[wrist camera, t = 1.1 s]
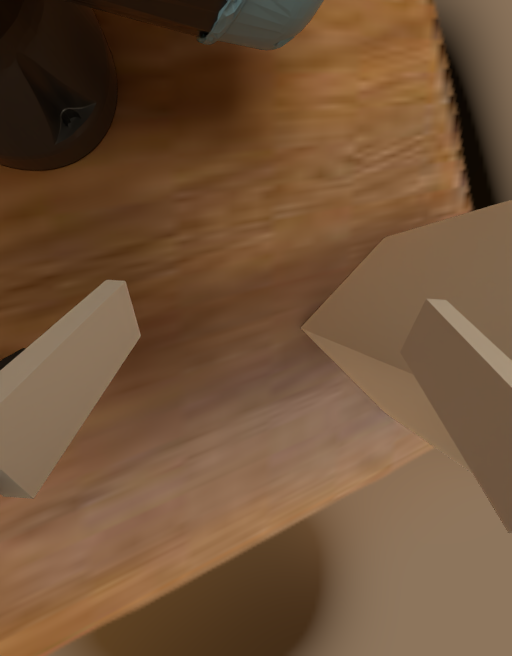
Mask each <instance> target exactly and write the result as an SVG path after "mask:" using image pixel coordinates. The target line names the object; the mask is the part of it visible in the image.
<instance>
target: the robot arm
mask: <svg viewBox="0 0 512 656" xmlns="http://www.w3.org/2000/svg"><path fill="white" fill-rule="evenodd" d="M323 1H324V0H0V164H1V165H4V166H8V167H12V168H17V169H25V170H47V169H54V168H58V167H62V166H65V165H68V164H71V163H73V162H75V161H77V160H79V159H80V158H82V157H84V156H85V155H87V154H88V153H89V152H90V151H92V150H93V149H94V148H95V147H96V146H97V145H98V143H99V142H100V141H101V140H102V138H103V137H104V135H105V134H106V132H107V130H108V129H109V126H110V124H111V122H112V119H113V116H114V112H115V108H116V102H117V78H116V71H115V66H114V62H113V58H112V55H111V52H110V49H109V47H108V44H107V42H106V40H105V37H104V35H103V32H102V30H101V27H100V25H99V22H98V20H97V18H96V16H95V14H94V12H93V10H92V8H94V9H98V10H102V11H105V12H109V13H113V14H116V15H120V16H124V17H128V18H131V19H135V20H139V21H143V22H146V23H150V24H154V25H157V26H161V27H165V28H169V29H172V30H176V31H180V32H184V33H187V34H191V35H195V36H196V37H197V41H198V42H200V43H203V44H209V45H211V44H213V43H215V42H216V41H222V42H227V43H232V44H236V45H241V46H246V47H251V48H256V49H261V50H273V49H277V48H280V47H282V46H283V45H285V44H286V43H287V42H289V41H290V40H291V39H293V38H294V37H295V36H296V35H297V34H298V33H299V32H301V31H302V30H303V29H304V27H305V26H306V25H307V24H308V23H309V22H310V20H311V19H312V17H313V16H314V15H315V13H316V11H317V10H318V8H319V7H320V5H321V4H322V2H323ZM140 337H141V334H140V331H139V327H138V324H137V320H136V317H135V313H134V309H133V306H132V302H131V299H130V295H129V292H128V288H127V284H126V281H119V280H105V281H104V282H103V283H102V284H101V285H100V286H98V287H97V288H96V289H95V290H94V291H93V292H91V293H90V294H89V295H88V296H87V297H86V298H84V299H83V300H82V301H81V302H80V303H79V304H77V305H76V306H75V307H74V308H73V309H72V310H70V311H69V312H68V313H67V314H66V315H65V316H63V317H62V318H61V319H60V320H59V321H58V322H56V323H55V324H54V325H53V326H52V327H51V328H49V329H48V330H47V331H46V332H45V333H44V334H42V335H41V336H40V337H39V338H38V339H37V340H35V341H34V342H33V343H32V344H31V345H30V346H28V347H27V348H26V349H25V348H23V349H21V350H19V351H17V352H15V353H13V354H12V355H10V356H8V357H6V358H4V359H2V360H1V361H0V494H1V495H2V496H5V497H19V498H32V499H34V497H35V496H36V494H37V493H38V491H39V490H40V488H41V487H42V485H43V484H44V482H45V481H46V479H47V478H48V476H49V475H50V473H51V472H52V470H53V468H54V467H55V465H56V464H57V462H58V461H59V459H60V458H61V456H62V455H63V453H64V452H65V450H66V449H67V447H68V446H69V444H70V443H71V441H72V440H73V438H74V437H75V435H76V434H77V432H78V431H79V429H80V428H81V426H82V425H83V423H84V422H85V420H86V418H87V417H88V415H89V414H90V412H91V411H92V409H93V408H94V406H95V405H96V403H97V402H98V400H99V399H100V397H101V396H102V394H103V393H104V391H105V390H106V388H107V387H108V385H109V384H110V382H111V381H112V379H113V378H114V376H115V375H116V373H117V372H118V370H119V368H120V367H121V365H122V364H123V362H124V361H125V359H126V358H127V356H128V355H129V353H130V352H131V350H132V349H133V347H134V346H135V344H136V343H137V341H138V340H139V338H140ZM400 353H401V355H402V356H403V358H404V360H405V361H406V363H407V365H408V366H409V368H410V370H411V371H412V373H413V375H414V376H415V378H416V380H417V381H418V383H419V385H420V386H421V388H422V390H423V391H424V393H425V395H426V396H427V398H428V400H429V401H430V403H431V405H432V406H433V408H434V410H435V411H436V413H437V415H438V416H439V418H440V420H441V421H442V423H443V425H444V426H445V428H446V430H447V431H448V433H449V435H450V436H451V438H452V440H453V441H454V443H455V445H456V446H457V448H458V450H459V451H460V453H461V455H462V456H463V458H464V460H465V461H466V463H467V465H468V466H469V468H470V470H471V471H472V473H473V475H474V476H475V478H476V480H477V481H478V483H479V485H480V486H481V488H482V489H483V491H484V493H485V495H486V496H487V498H488V499H489V501H490V503H491V505H492V506H493V508H494V510H495V511H496V513H497V515H498V516H499V518H500V520H501V521H502V523H503V525H504V526H505V528H506V530H507V531H508V533H512V361H511V360H510V359H509V358H508V357H507V356H506V355H505V354H504V353H503V352H502V351H501V350H500V349H498V348H497V347H496V346H495V345H494V344H493V343H492V342H491V341H490V340H489V339H488V338H487V337H486V336H484V335H483V334H482V333H481V332H480V331H479V330H478V329H477V328H476V327H475V326H474V325H473V324H472V323H470V322H469V321H468V320H467V319H466V318H465V317H464V316H463V315H462V314H461V313H460V312H459V311H457V310H456V309H455V308H454V307H453V306H452V305H451V304H450V303H449V302H448V301H447V300H439V299H426V300H425V302H424V304H423V306H422V308H421V310H420V312H419V314H418V316H417V318H416V320H415V322H414V325H413V327H412V329H411V331H410V333H409V335H408V337H407V339H406V341H405V343H404V345H403V347H402V349H401V351H400Z"/></svg>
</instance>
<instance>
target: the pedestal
mask: <svg viewBox="0 0 512 656" xmlns="http://www.w3.org/2000/svg"><path fill="white" fill-rule="evenodd" d="M426 299H439V300H447V301H448V302H449V303H450V304H451V305H452V306H453V307H454V308H455V309H456V310H457V311H459V312H460V313H461V314H462V315H463V316H464V317H465V318H466V319H467V320H468V321H469V322H470V323H472V324H473V325H474V326H475V327H476V328H477V329H478V330H479V331H480V332H481V333H482V334H483V335H484V336H486V337H487V338H488V339H489V340H490V341H491V342H492V343H493V344H494V345H495V346H496V347H497V348H498V349H500V350H501V351H502V352H503V353H504V354H505V355H506V356H507V357H508V358H509V359H510V360H511V361H512V200H510V201H506V202H503V203H500V204H496V205H493V206H489V207H486V208H483V209H479V210H476V211H472V212H469V213H465V214H462V215H458V216H455V217H452V218H448V219H445V220H441V221H438V222H435V223H431V224H428V225H424V226H421V227H418V228H414V229H411V230H407V231H404V232H401V233H397V234H394V235H390V236H387V237H384V238H383V239H382V241H381V242H380V243H379V244H378V245H377V246H376V247H375V248H374V249H373V250H372V251H371V252H370V253H369V254H368V256H367V257H366V258H365V259H364V260H363V261H362V262H361V263H360V264H359V265H358V266H357V267H356V268H355V270H354V271H353V272H352V273H351V274H350V275H349V276H348V277H347V278H346V279H345V280H344V281H343V282H342V284H341V285H340V286H339V287H338V288H337V289H336V290H335V291H334V292H333V293H332V294H331V295H330V296H329V298H328V299H327V300H326V301H325V302H324V303H323V304H322V305H321V306H320V307H319V308H318V309H317V310H316V312H315V313H314V314H313V315H312V316H311V317H310V318H309V319H308V320H307V321H306V322H305V323H304V324H303V326H302V327H301V329H302V330H303V331H304V332H305V333H306V334H307V335H308V336H309V337H310V338H311V339H312V340H313V341H314V342H315V343H316V344H317V345H318V346H319V347H320V348H321V349H322V350H323V351H324V352H325V353H326V354H327V355H328V356H329V357H330V358H331V359H332V360H333V361H334V362H335V363H336V364H337V365H338V366H339V367H340V368H341V369H342V370H343V371H344V372H345V373H346V374H347V375H348V376H349V377H350V378H351V379H352V380H353V381H354V382H355V383H356V384H357V385H358V386H359V387H360V388H361V389H362V390H363V391H364V392H365V393H366V394H367V395H368V396H369V397H370V398H371V399H372V400H373V401H374V402H375V403H376V404H377V405H378V406H379V407H380V408H381V409H382V410H383V411H384V412H385V413H386V414H387V415H389V416H390V417H392V418H393V419H394V420H396V421H397V422H399V423H400V424H402V425H403V426H405V427H406V428H408V429H409V430H410V431H412V432H413V433H415V434H416V435H418V436H419V437H421V438H422V439H423V440H425V441H426V442H428V443H429V444H431V445H432V446H434V447H435V448H437V449H438V450H439V451H441V452H442V453H444V454H445V455H447V456H448V457H450V458H451V459H452V460H454V461H455V462H457V463H458V464H460V465H461V466H463V467H464V468H466V469H467V470H468V471H470V472H471V473H472V471H471V470H470V468H469V466H468V465H467V463H466V461H465V460H464V458H463V456H462V455H461V453H460V451H459V450H458V448H457V446H456V445H455V443H454V441H453V440H452V438H451V436H450V435H449V433H448V431H447V430H446V428H445V426H444V425H443V423H442V421H441V420H440V418H439V416H438V415H437V413H436V411H435V410H434V408H433V406H432V405H431V403H430V401H429V400H428V398H427V396H426V395H425V393H424V391H423V390H422V388H421V386H420V385H419V383H418V381H417V380H416V378H415V376H414V375H413V373H412V371H411V370H410V368H409V366H408V365H407V363H406V361H405V360H404V358H403V356H402V355H401V353H400V351H401V349H402V347H403V345H404V343H405V341H406V339H407V337H408V335H409V333H410V331H411V329H412V327H413V325H414V322H415V320H416V318H417V316H418V314H419V312H420V310H421V308H422V306H423V304H424V302H425V300H426Z"/></svg>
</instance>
